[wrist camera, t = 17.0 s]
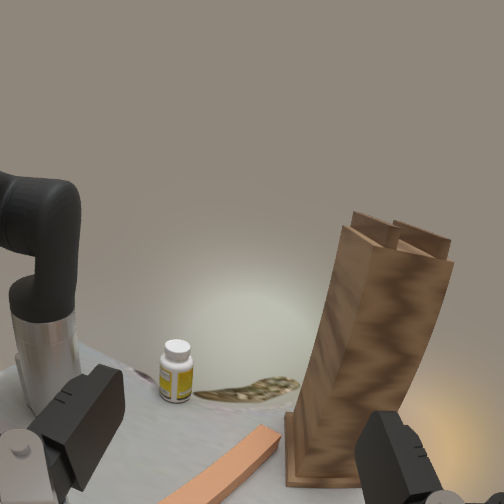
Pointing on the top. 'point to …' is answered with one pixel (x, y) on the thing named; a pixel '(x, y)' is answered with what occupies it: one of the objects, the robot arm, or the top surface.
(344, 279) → the stand
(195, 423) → the top surface
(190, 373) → the supplement bottle
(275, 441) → the bar
